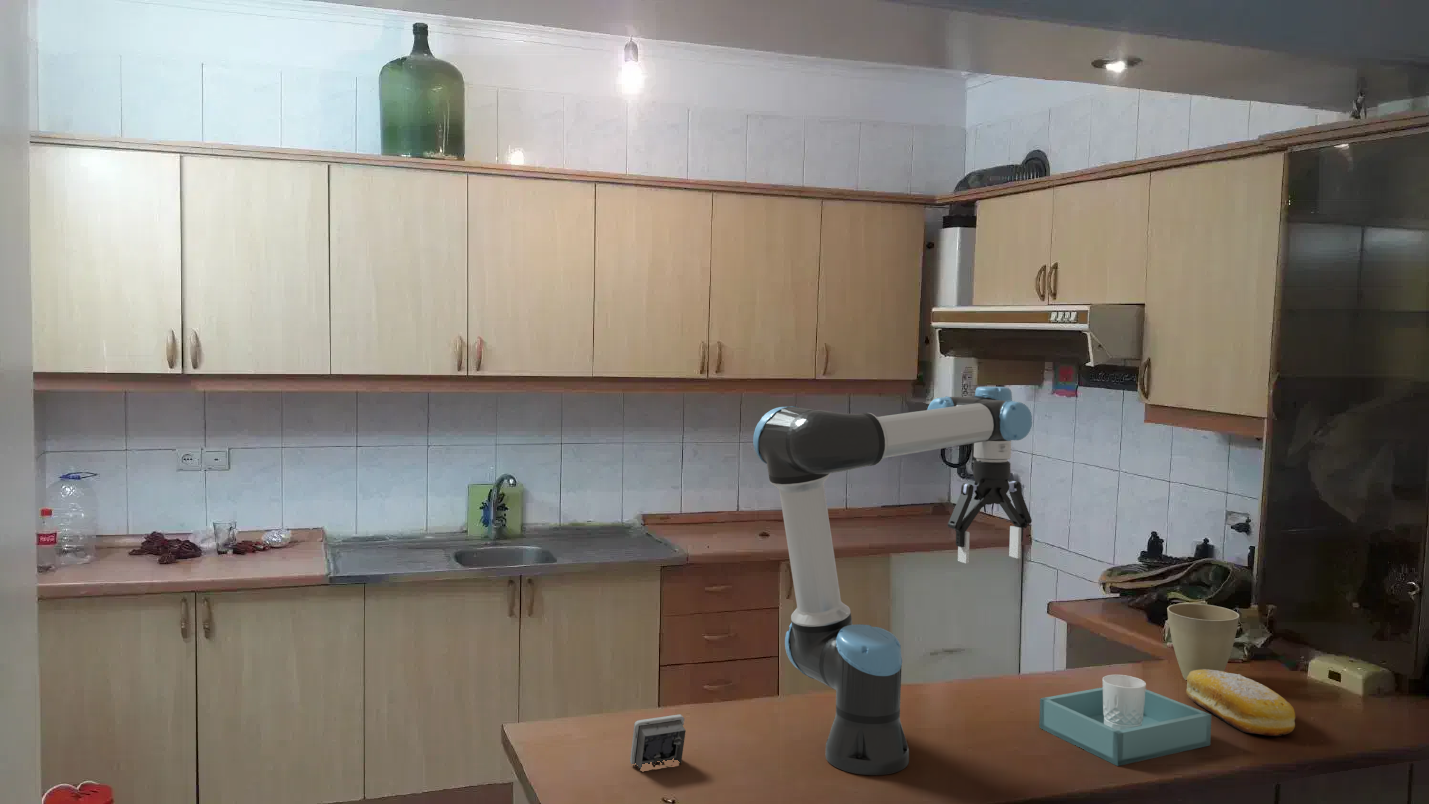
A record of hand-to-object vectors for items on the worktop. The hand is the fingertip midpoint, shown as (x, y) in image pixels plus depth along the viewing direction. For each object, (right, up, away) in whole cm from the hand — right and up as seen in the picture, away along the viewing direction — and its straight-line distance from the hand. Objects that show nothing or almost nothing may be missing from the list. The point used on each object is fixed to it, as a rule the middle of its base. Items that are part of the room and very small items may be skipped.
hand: (989, 559), depth 217 cm
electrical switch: (-68, -32, -33) cm, 82 cm away
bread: (+50, -32, -5) cm, 59 cm away
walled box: (+22, -32, -17) cm, 42 cm away
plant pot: (+53, -30, +17) cm, 63 cm away
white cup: (+21, -31, -17) cm, 41 cm away
